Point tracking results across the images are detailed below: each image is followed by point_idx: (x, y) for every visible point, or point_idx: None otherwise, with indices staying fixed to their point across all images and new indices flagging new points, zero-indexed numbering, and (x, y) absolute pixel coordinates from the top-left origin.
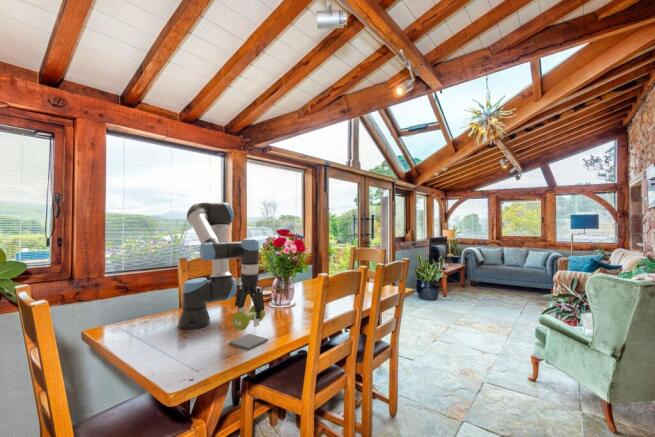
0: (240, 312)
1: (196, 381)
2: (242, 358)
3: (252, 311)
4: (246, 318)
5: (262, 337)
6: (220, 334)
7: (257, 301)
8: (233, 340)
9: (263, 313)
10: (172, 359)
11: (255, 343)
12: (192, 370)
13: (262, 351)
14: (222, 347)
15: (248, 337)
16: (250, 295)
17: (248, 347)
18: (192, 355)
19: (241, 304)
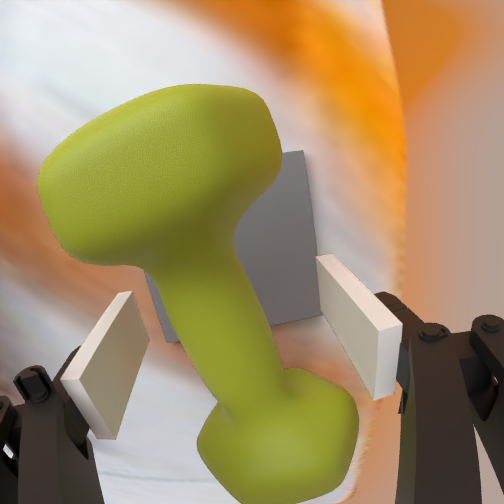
0: (285, 497)
1: (353, 475)
2: None
3: (164, 276)
4: (355, 442)
5: None
6: (24, 292)
7: (463, 462)
8: (164, 318)
9: (280, 145)
10: (177, 483)
11: (304, 256)
12: None
13: (383, 268)
14: (188, 373)
15: None
16: None
17: (317, 313)
18: (187, 455)
19: (86, 460)
